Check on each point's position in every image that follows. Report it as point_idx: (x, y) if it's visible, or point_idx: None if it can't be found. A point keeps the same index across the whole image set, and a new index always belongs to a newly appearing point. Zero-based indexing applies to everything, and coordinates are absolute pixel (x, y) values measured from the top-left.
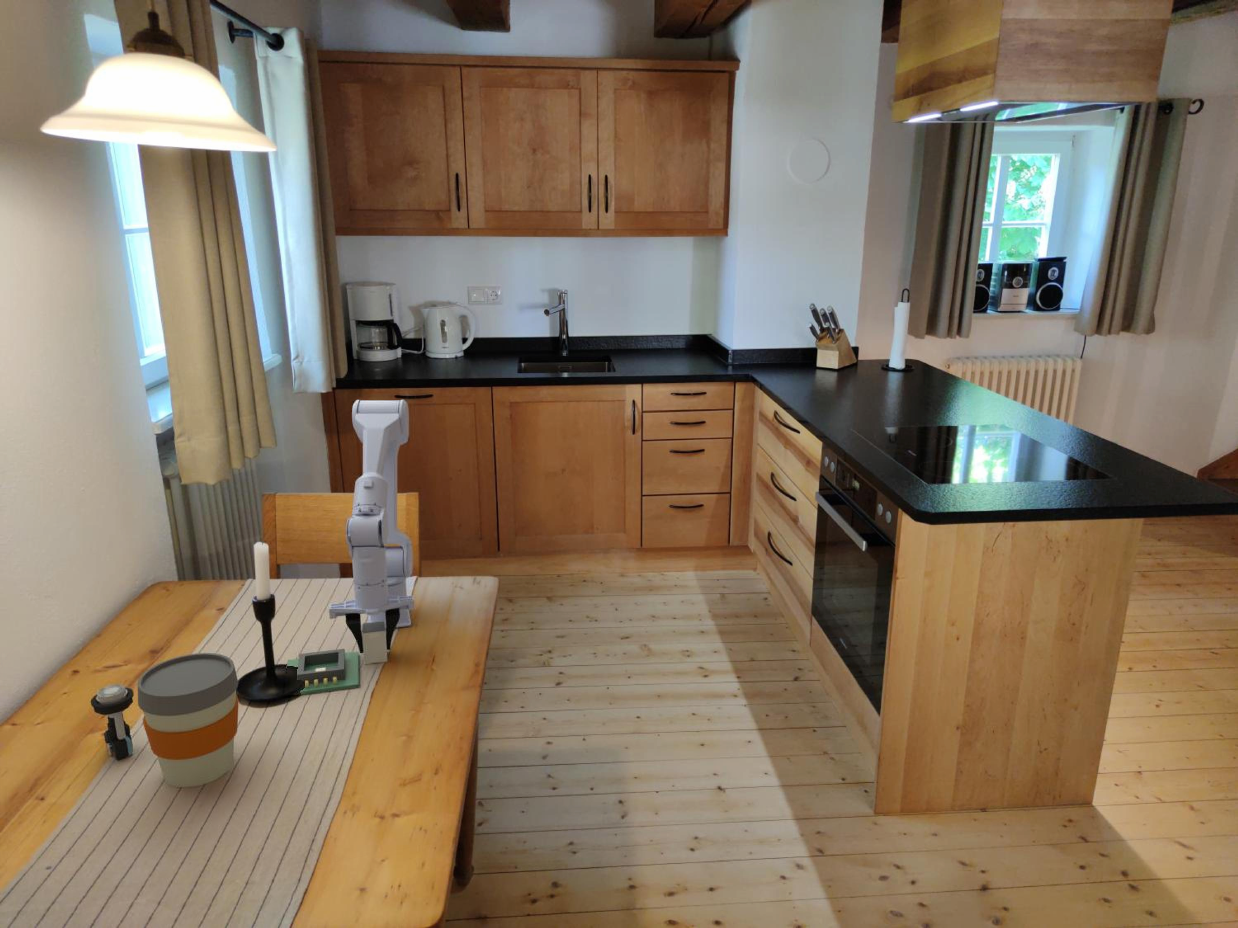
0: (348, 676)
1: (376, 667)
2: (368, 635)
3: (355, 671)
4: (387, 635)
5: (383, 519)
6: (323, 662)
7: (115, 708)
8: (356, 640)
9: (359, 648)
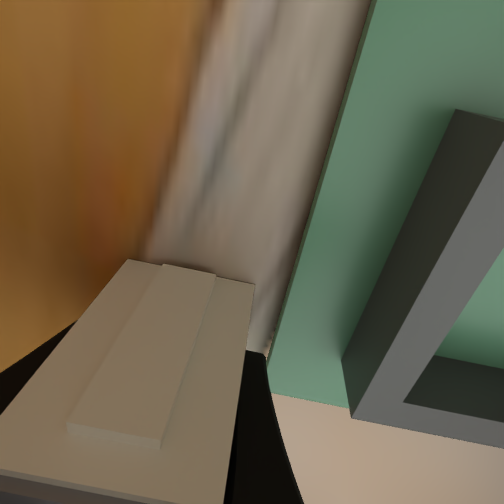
0: (410, 146)
1: (194, 220)
2: (165, 464)
3: (338, 198)
4: (5, 407)
5: None
6: (471, 369)
7: None
8: (282, 448)
9: (265, 379)
